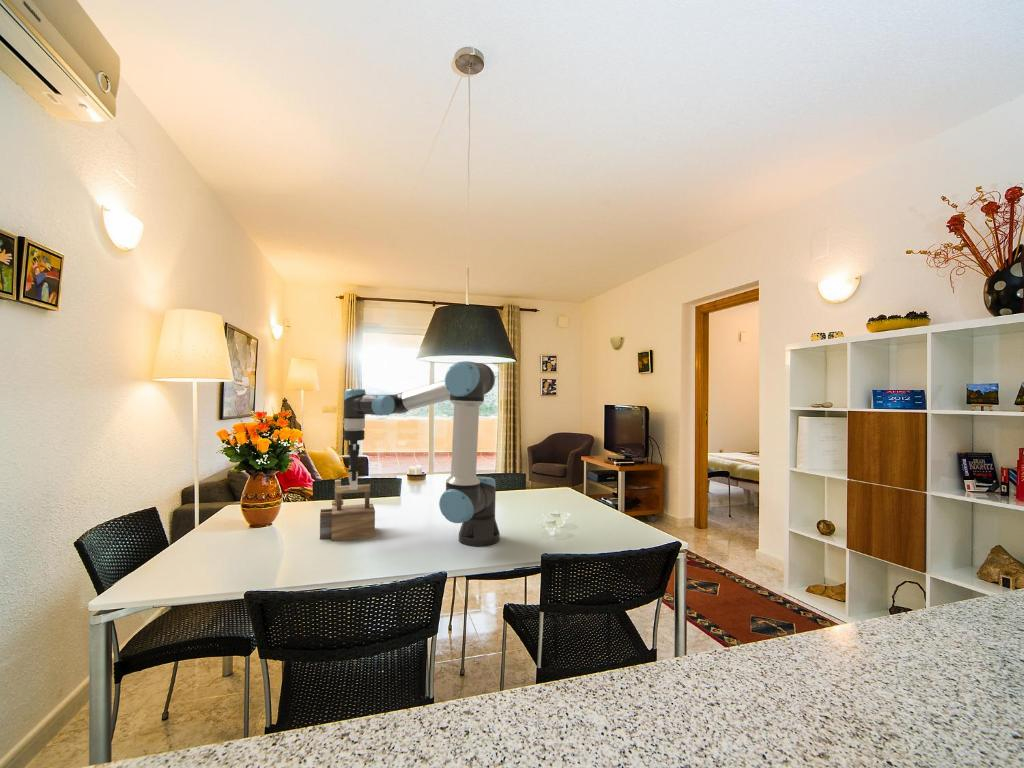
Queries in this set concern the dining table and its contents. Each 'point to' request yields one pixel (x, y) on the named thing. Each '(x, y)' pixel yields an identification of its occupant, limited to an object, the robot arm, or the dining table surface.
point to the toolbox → (347, 527)
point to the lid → (350, 510)
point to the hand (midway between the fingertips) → (352, 485)
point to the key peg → (337, 483)
